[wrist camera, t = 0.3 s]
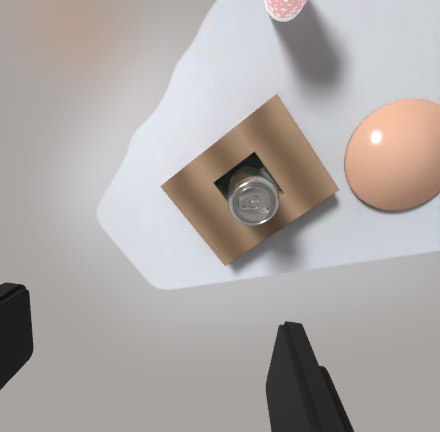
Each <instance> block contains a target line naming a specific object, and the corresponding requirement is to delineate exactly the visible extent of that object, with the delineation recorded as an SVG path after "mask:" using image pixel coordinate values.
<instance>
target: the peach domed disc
mask: <svg viewBox="0 0 440 432" xmlns="http://www.w3.org/2000/svg"><path fill="white" fill-rule="evenodd" d="M344 169H345V175H346V179H347V182H348V184H349V186H350V188H351V189H352V191H353V192H354V193H355V195H356V196H357V197H358V198H360V199H361V200H362V201H364V202H365V203H367V204H369V205H371V206H374V207H376V208H379V209H384V210H404V209H408V208H412V207H415V206H417V205H420V204H422V203H424V202H426V201H427V200H429V199H430V198H432V197H433V196H435V195H436V194H437V193H438V192H439V191H440V105H438V104H436V103H434V102H431V101H428V100H423V99H405V100H400V101H396V102H393V103H390V104H387V105H385V106H383V107H380V108H379V109H377V110H375V111H374V112H372V113H371V114H370V115H369V116H367V117H366V118H365V119H364V120H363V121H362V122H361V123H360V125H359V126H358V127H357V128H356V130H355V131H354V133H353V135H352V136H351V138H350V141H349V143H348V146H347V149H346V153H345V159H344Z"/></svg>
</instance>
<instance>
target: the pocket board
mask: <svg viewBox="0 0 440 432" xmlns="http://www.w3.org/2000/svg"><path fill="white" fill-rule="evenodd" d="M253 152H254V153H255V154H256V156H257V157H258V159H259V160H260V161H261V163H262V164H263V166H264V167H265V169H266V170H267V171H268V173H269V174H270V176H271V177H272V178H273V180H274V181H275V183H276V184H277V186H278V187H279V188H280V190H278V194H279V206H278V209H277V211H276V213H275V214H274V216H273V217H272V218H271V219H270V220H269V221H267V222H265V223H263V224H261V225H256V226H250V225H245V224H242V223H240V222H239V221H237V220H236V219H235V218H234V217H233V216H232V214H231V213H230V210H229V208H228V197H227V195H226V194H225V193H224V191H223V190H222V189H221V188H220V186H219V185H218V184H217V182H216V180H218V179H219V178H220V177H222V176H223V175H224V174H226V173H227V172H228V171H229V170H231V169H232V168H233V167H235V166H236V165H237V164H239V163H240V162H241V161H243V160H244V159H245V158H247V157H248V156H249V155H251V154H252V153H253ZM161 188H162V189H163V190H164V191H165V193H166V194H167V195H168V196H169V197H170V199H171V200H172V201H173V202H174V204H175V205H176V206H177V207H178V209H179V210H180V211H181V212H182V213H183V215H184V216H185V217H186V218H187V220H188V221H189V222H190V223H191V225H192V226H193V227H194V228H195V229H196V231H197V232H198V233H199V234H200V236H201V237H202V238H203V239H204V241H205V242H206V243H207V244H208V245H209V247H210V248H211V249H212V250H213V252H214V253H215V254H216V255H217V256H218V258H219V259H220V260H221V261H222V263H223V264H224V265H225V266H226V265H227V264H229V263H230V262H232V261H233V260H235V259H236V258H238V257H239V256H241V255H242V254H244V253H245V252H247V251H248V250H250V249H251V248H253V247H254V246H256V245H257V244H259V243H260V242H262V241H263V240H265V239H266V238H268V237H269V236H271V235H272V234H274V233H275V232H277V231H278V230H280V229H281V228H283V227H284V226H286V225H287V224H289V223H290V222H292V221H293V220H295V219H296V218H298V217H299V216H301V215H302V214H304V213H305V212H307V211H308V210H310V209H311V208H313V207H314V206H316V205H317V204H319V203H320V202H322V201H323V200H325V199H326V198H328V197H329V196H331V195H332V194H334V193H335V192H337V191H338V190H339V188H338V187H337V185H336V184H335V182H334V181H333V179H332V178H331V176H330V175H329V173H328V171H327V170H326V168H325V167H324V165H323V164H322V162H321V161H320V159H319V158H318V156H317V155H316V153H315V152H314V150H313V148H312V147H311V145H310V144H309V142H308V141H307V139H306V138H305V136H304V135H303V133H302V132H301V130H300V129H299V127H298V125H297V124H296V122H295V121H294V119H293V118H292V116H291V115H290V113H289V112H288V110H287V109H286V107H285V105H284V104H283V102H282V101H281V99H280V98H279V96H278V95H277V94H276V95H275V96H274V97H272V98H271V99H270V100H268V101H267V102H266V103H265V104H263V105H262V106H261V107H260V108H258V109H257V110H256V111H255V112H253V113H252V114H251V115H250V116H248V117H247V118H246V119H245V120H243V121H242V122H241V123H240V124H238V125H237V126H236V127H235V128H233V129H232V130H231V131H229V132H228V133H227V134H226V135H224V136H223V137H222V138H221V139H219V140H218V141H217V142H216V143H214V144H213V145H212V146H211V147H209V148H208V149H207V150H206V151H204V152H203V153H202V154H201V155H199V156H198V157H197V158H196V159H194V160H193V161H192V162H190V163H189V164H188V165H187V166H185V167H184V168H183V169H182V170H180V171H179V172H178V173H177V174H175V175H174V176H173V177H172V178H170V179H169V180H168V181H167V182H165V183H164V184H163V185H162V186H161Z"/></svg>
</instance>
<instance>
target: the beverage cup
mask: <svg viewBox="0 0 440 432" xmlns="http://www.w3.org/2000/svg"><path fill="white" fill-rule="evenodd" d="M306 2H307V0H265V6H266V10H267V12H268V14H269V15H270V16H271V17H272V18H273V19H275V20H277V21H289V20H291V19H293V18H295V17H296V15H297V14H298V13H299V12H300V11H301V9H302V8H303V6H304V5H305V3H306Z"/></svg>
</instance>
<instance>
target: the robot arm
mask: <svg viewBox="0 0 440 432" xmlns="http://www.w3.org/2000/svg"><path fill="white" fill-rule="evenodd" d="M32 353H33V337H32V323H31V311H30V297H29V291H28V290H26V287H25V286H24V285H21V284H14V283H4V284H1V285H0V390H1V389H2V388H3V387H4V385H5V384H6V383H7V382H8V381H9V380H10V379H11V378H12V377H13V376H14V375H15V374H16V373H17V372H18V371H19V370H20V369H21V367H22V366H23V365H24V364H25V363H26V362H27V361H28V360H29V359H30V357H31V355H32ZM266 396H267V403H268V410H269V417H270V424H271V431H272V432H354V431H353V428H352V426H351V423H350V421H349V419H348V416H347V414H346V412H345V410H344V407H343V405H342V403H341V400H340V398H339V396H338V393H337V391H336V389H335V386H334V384H333V382H332V380H331V377H330V375H329V373H328V371H327V369H326V368H325V367H324V366H319V365H318V362H317V360H316V357H315V355H314V352H313V350H312V347H311V345H310V342H309V340H308V337H307V335H306V333H305V330H304V328H303V325H302V324H300V323H294V322H287V321H286V322H285V323H284V325H280V326H279V328H278V332H277V337H276V341H275V346H274V350H273V355H272V359H271V363H270V368H269V372H268V376H267V382H266Z"/></svg>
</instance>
